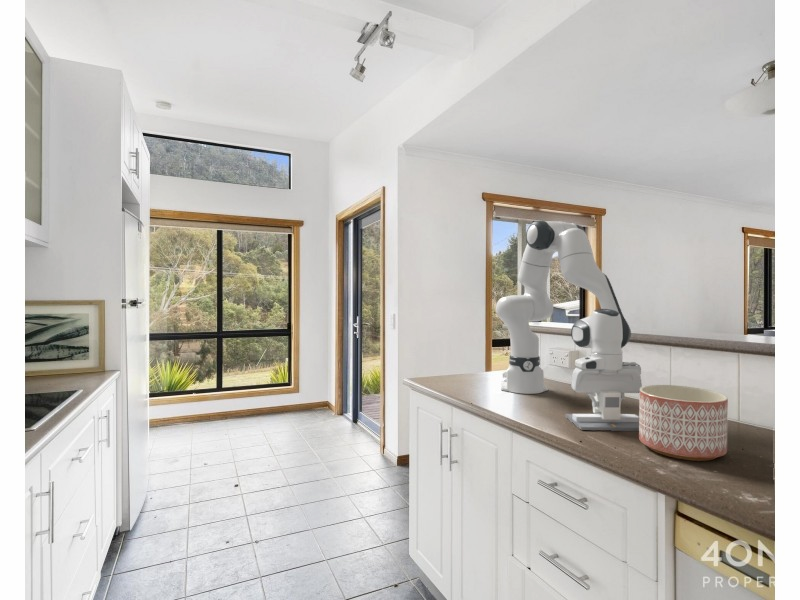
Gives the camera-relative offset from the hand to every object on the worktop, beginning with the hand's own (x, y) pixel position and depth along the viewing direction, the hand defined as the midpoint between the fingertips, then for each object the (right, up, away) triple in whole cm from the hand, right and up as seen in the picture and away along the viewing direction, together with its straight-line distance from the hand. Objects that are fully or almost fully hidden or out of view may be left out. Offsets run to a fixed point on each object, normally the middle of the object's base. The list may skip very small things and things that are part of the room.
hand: (606, 407), depth 138 cm
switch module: (0, -3, 0) cm, 3 cm away
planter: (+9, -6, -22) cm, 25 cm away
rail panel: (0, -5, 0) cm, 5 cm away
